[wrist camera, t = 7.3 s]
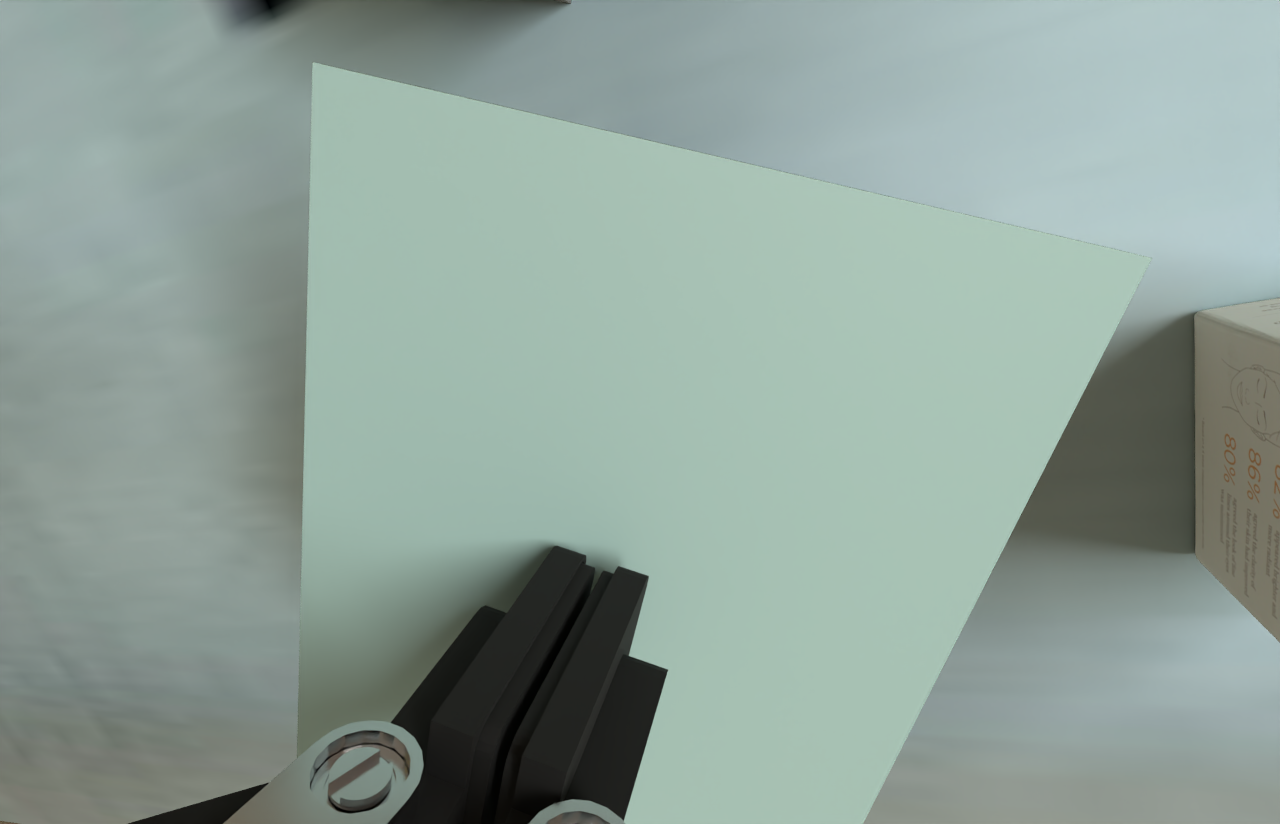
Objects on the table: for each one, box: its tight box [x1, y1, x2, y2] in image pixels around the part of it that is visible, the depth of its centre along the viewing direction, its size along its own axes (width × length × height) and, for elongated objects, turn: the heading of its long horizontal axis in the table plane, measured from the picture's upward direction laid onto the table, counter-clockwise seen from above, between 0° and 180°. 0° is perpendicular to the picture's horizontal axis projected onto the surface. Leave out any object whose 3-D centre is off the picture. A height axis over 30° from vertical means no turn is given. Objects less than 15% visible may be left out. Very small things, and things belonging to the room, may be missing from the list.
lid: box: [297, 62, 1152, 824], centre depth 12 cm, size 15×12×1 cm
